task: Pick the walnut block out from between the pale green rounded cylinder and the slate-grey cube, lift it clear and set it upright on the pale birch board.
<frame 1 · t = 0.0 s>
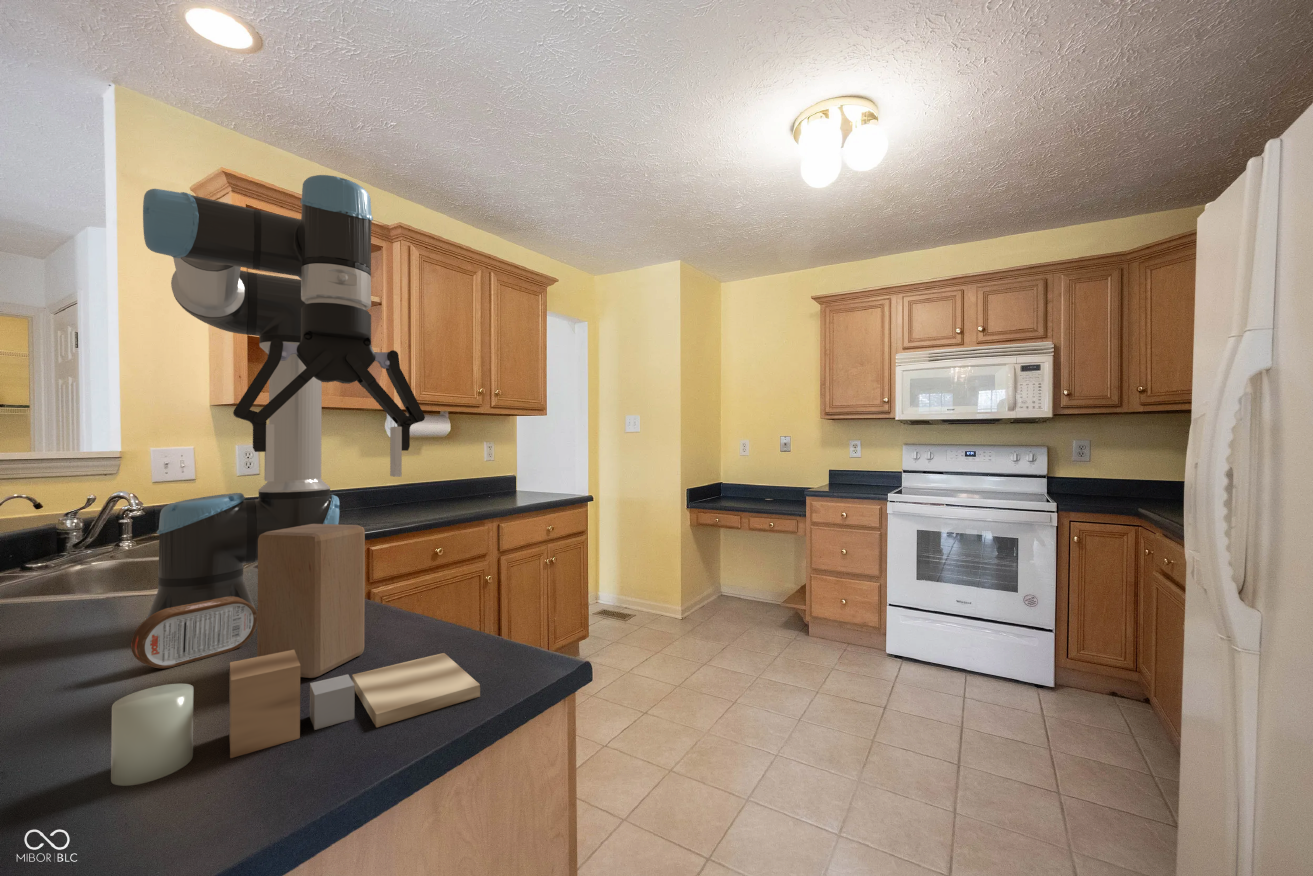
hand: (336, 478, 67), 28 cm above the countertop, fingers open, 13 cm apart
block: (313, 665, 80), on the countertop
pale green rounded cylinder: (153, 767, 54), on the countertop
board: (414, 691, 71), on the countertop
slate cube: (332, 718, 64), on the countertop
tin: (199, 659, 83), on the countertop
walnut block: (264, 736, 60), on the countertop
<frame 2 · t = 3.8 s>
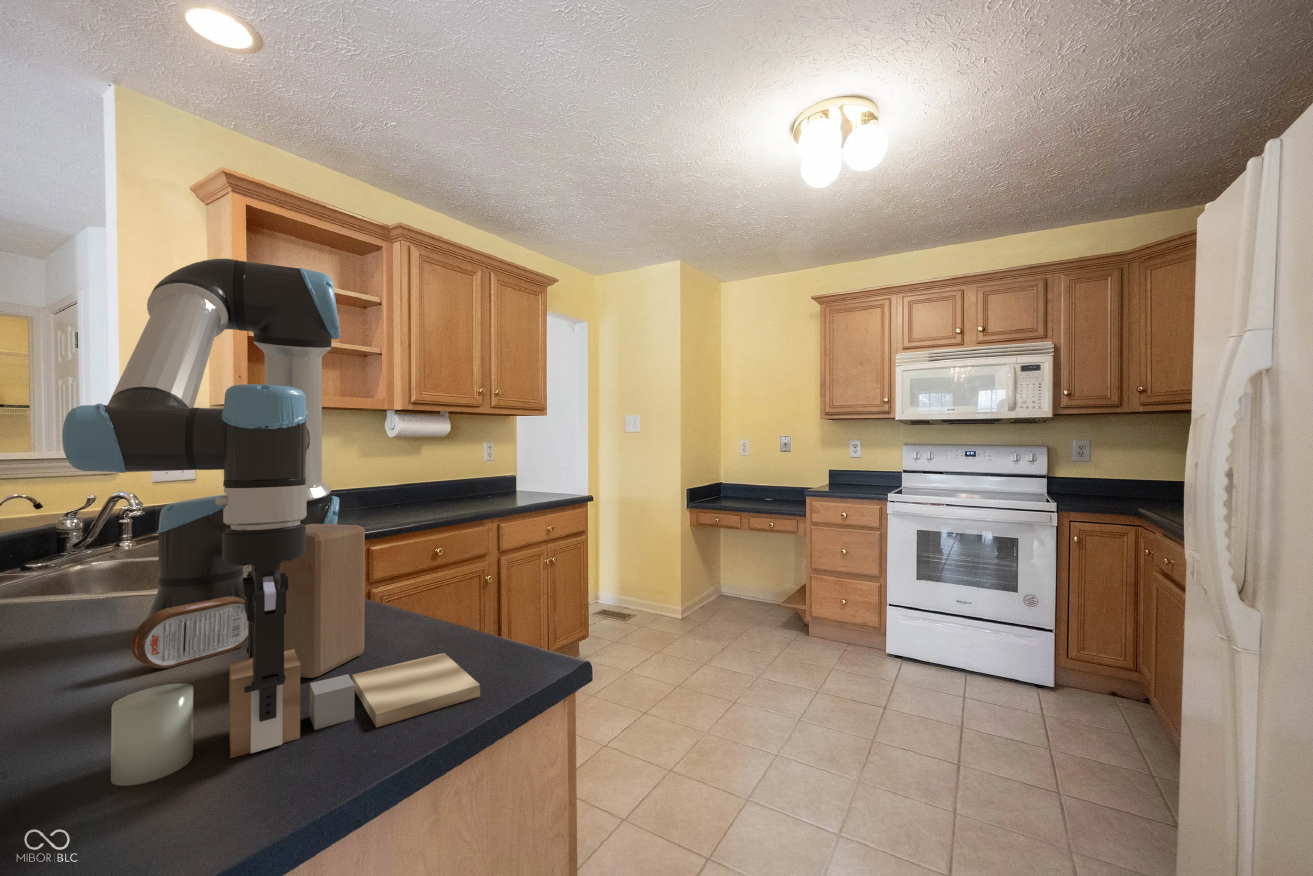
hand: (264, 734, 60), 0 cm above the countertop, fingers open, 6 cm apart
walnut block: (264, 736, 60), on the countertop, touching gripper
everything else where it was.
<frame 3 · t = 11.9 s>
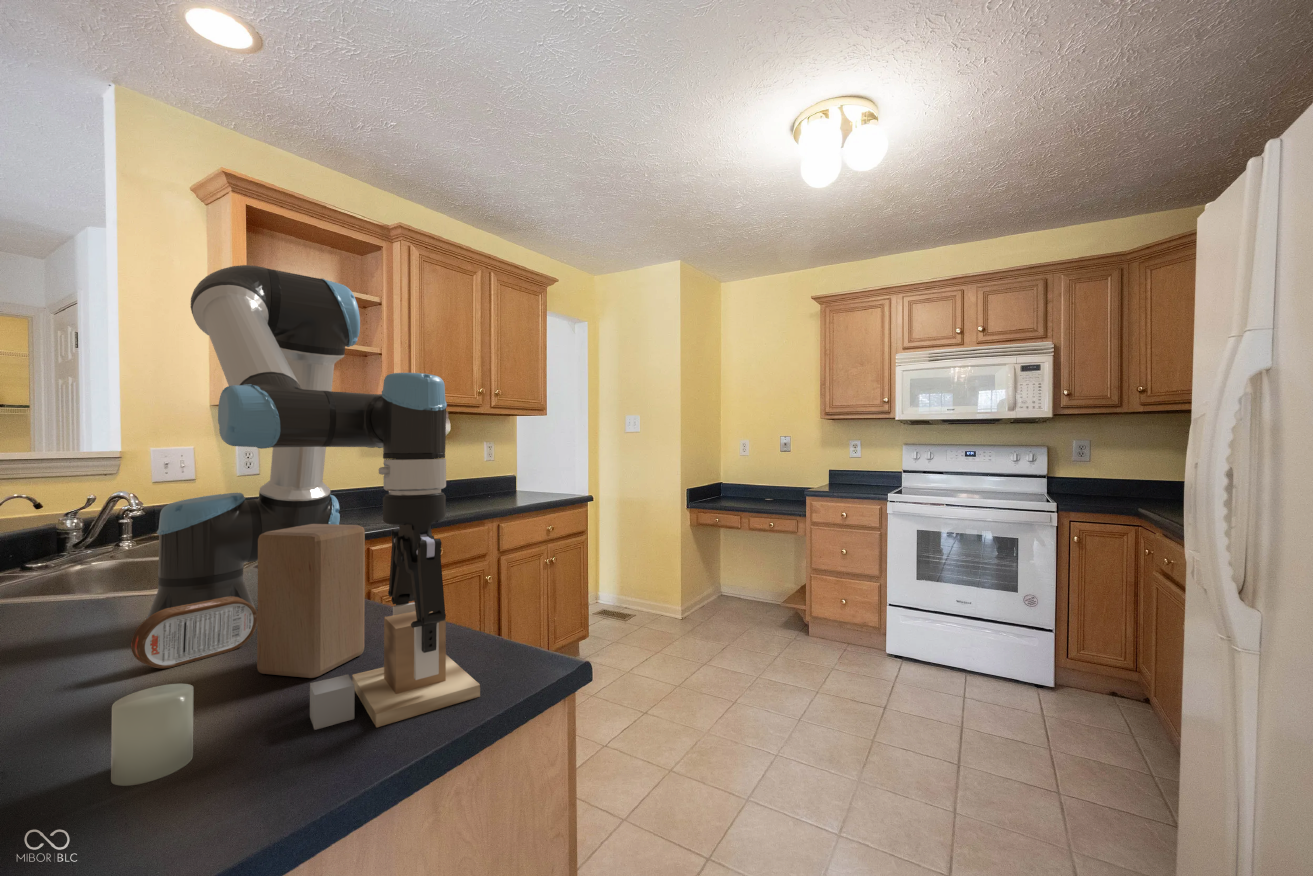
hand: (414, 663, 71), 4 cm above the countertop, fingers open, 9 cm apart
walnut block: (414, 679, 71), point 1 cm above the countertop, touching board
everything else where it was.
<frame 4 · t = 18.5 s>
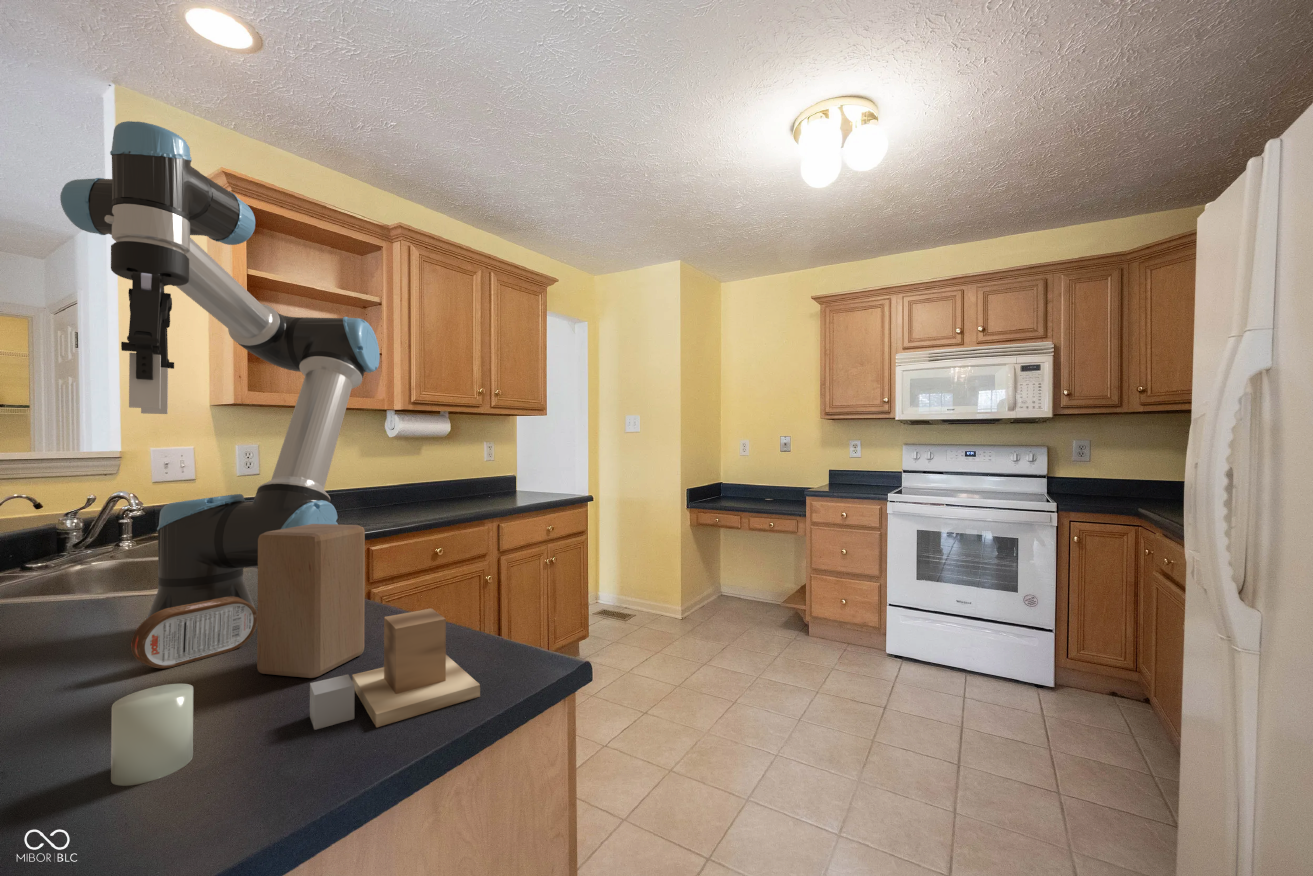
hand: (150, 411, 71), 37 cm above the countertop, fingers open, 13 cm apart
nothing on the countertop moved.
at the end: walnut block inside the target area on the board (0.0 cm from its centre), point 1.5 cm above the board's base; walnut block tilted 0°; the gripper is holding nothing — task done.
